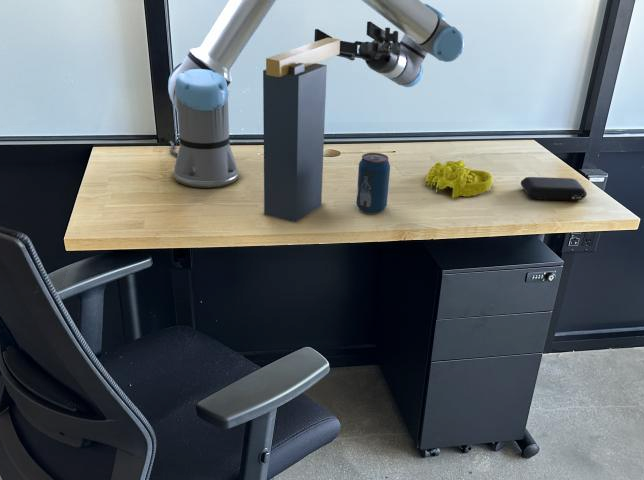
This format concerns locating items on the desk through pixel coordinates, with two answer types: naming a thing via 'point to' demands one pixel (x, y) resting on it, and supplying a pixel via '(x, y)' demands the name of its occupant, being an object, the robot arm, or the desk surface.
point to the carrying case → (553, 188)
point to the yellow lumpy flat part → (459, 178)
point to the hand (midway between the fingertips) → (341, 31)
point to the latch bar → (302, 56)
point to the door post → (294, 141)
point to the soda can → (373, 183)
